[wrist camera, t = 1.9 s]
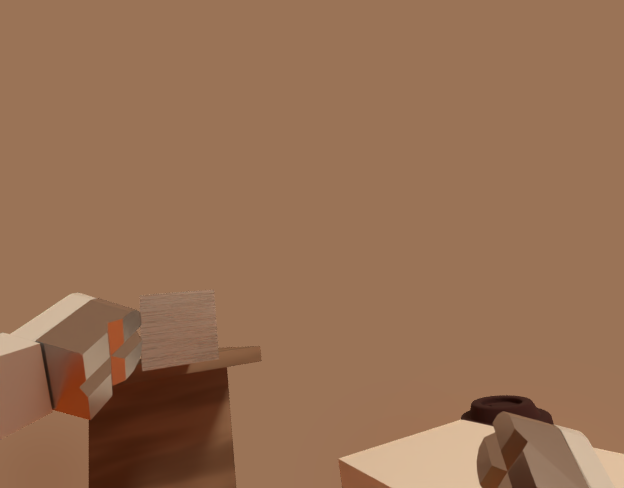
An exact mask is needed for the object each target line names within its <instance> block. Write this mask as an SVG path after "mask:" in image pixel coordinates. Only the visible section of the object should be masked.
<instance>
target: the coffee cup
mask: <svg viewBox="0 0 624 488" xmlns="http://www.w3.org/2000/svg"><path fill="white" fill-rule="evenodd" d="M502 411H504V412H508V413H512V414H516V415H519V416H523V417H527V418H530V419H534V420H538V421H542V422H545V423H549V424H551V425H554V424H553V420H552V417H551V415H550V414H549V413H548V412H546V411H545V410H542V409H538V408H537V407H536V406H535V405H534V403H533V402H532V401H531V400H530V399H528V398H525V397H520V396H490V397H484V398H480V399H477V400H474V401H473V402H472V404H471V410H470V411H468V412H466V413H464V414H463V415H462V417H461V420H466V421H471V422H475V423H480V424H485V425H490V426H493V421H494V420H495V418H496V416H497V415H498V414H499V413H501V412H502Z"/></svg>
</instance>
